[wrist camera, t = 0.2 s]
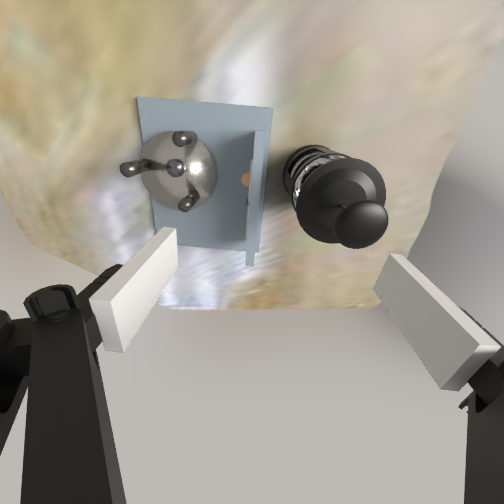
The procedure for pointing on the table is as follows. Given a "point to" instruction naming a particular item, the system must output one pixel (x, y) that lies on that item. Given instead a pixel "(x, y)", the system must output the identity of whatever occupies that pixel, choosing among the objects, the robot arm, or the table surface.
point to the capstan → (176, 169)
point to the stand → (229, 171)
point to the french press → (336, 197)
